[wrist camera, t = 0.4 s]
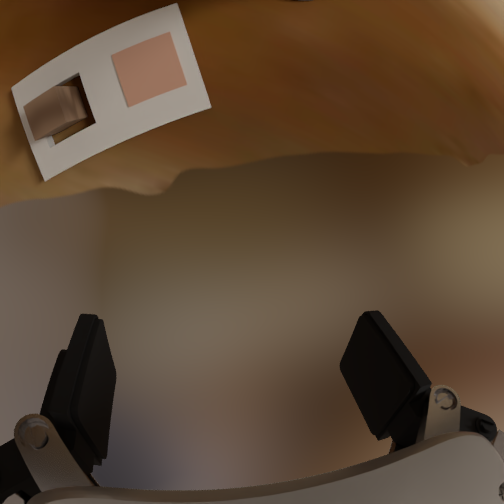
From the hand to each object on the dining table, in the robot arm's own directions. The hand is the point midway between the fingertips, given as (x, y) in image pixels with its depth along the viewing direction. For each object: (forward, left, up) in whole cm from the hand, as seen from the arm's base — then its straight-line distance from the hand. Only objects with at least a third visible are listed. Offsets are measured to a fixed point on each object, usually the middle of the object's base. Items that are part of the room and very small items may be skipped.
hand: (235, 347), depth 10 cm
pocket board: (-14, -10, -35) cm, 39 cm away
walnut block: (-14, -16, -35) cm, 41 cm away
